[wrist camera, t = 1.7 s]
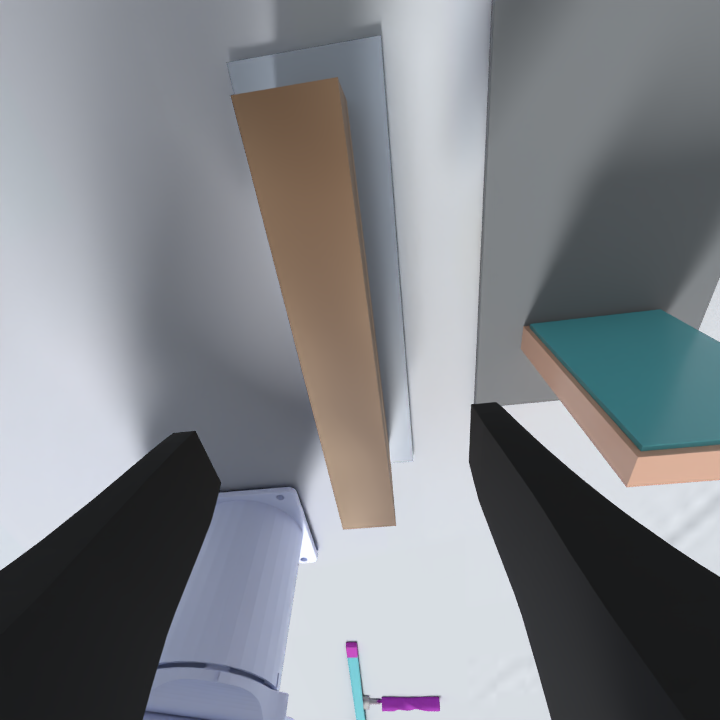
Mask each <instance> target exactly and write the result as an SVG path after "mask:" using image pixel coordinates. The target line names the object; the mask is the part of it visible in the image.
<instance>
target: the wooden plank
mask: <svg viewBox="0 0 720 720" xmlns="http://www.w3.org/2000/svg"><path fill="white" fill-rule="evenodd" d="M231 99H232V103H233V107H234V110H235V114H236V118H237V122H238V126H239V130H240V134H241V137H242V141H243V145H244V149H245V153H246V157H247V161H248V164H249V168H250V172H251V176H252V180H253V184H254V188H255V191H256V195H257V199H258V203H259V207H260V211H261V215H262V218H263V222H264V226H265V230H266V234H267V238H268V242H269V245H270V249H271V253H272V257H273V261H274V265H275V269H276V272H277V276H278V280H279V284H280V288H281V292H282V296H283V299H284V303H285V307H286V311H287V315H288V319H289V323H290V326H291V330H292V334H293V338H294V342H295V346H296V350H297V353H298V357H299V361H300V365H301V369H302V373H303V377H304V380H305V384H306V388H307V392H308V396H309V400H310V404H311V407H312V411H313V415H314V419H315V423H316V427H317V431H318V434H319V438H320V442H321V446H322V450H323V454H324V458H325V461H326V465H327V469H328V473H329V477H330V481H331V485H332V488H333V492H334V496H335V500H336V504H337V508H338V512H339V515H340V519H341V523H342V527H343V529H357V528H371V527H385V526H396V520H395V508H394V497H393V485H392V473H391V461H390V450H389V440H388V432H387V424H386V416H385V408H384V399H383V391H382V383H381V375H380V367H379V359H378V351H377V343H376V334H375V326H374V318H373V310H372V302H371V294H370V286H369V277H368V269H367V261H366V253H365V245H364V237H363V229H362V221H361V212H360V204H359V196H358V188H357V180H356V172H355V164H354V155H353V147H352V139H351V131H350V123H349V115H348V107H347V100H346V97H345V95H344V92H343V90H342V87H341V85H340V82H339V79H338V77H335V78H329V79H323V80H317V81H312V82H306V83H300V84H294V85H288V86H282V87H276V88H270V89H265V90H259V91H253V92H247V93H241V94H235V95H231Z"/></svg>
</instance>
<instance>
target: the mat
mask: <svg viewBox="0 0 720 720" xmlns="http://www.w3.org/2000/svg"><path fill="white" fill-rule="evenodd" d="M719 278H720V0H492V11H491V34H490V56H489V79H488V102H487V124H486V147H485V170H484V192H483V215H482V238H481V260H480V283H479V306H478V328H477V351H476V373H475V396H474V404H480V403H490V402H497V403H498V404H499V405H500V406H504V405H514V404H524V403H535V402H545V401H556V400H559V398H558V397H557V396H556V394H555V393H554V392H553V390H552V389H551V388H550V386H549V385H548V384H547V383H546V381H545V380H544V379H543V377H542V376H541V375H540V373H539V372H538V371H537V370H536V368H535V367H534V366H533V364H532V363H531V362H530V360H529V359H528V358H527V356H526V355H525V354H524V353H523V351H522V350H521V342H522V334H523V326H530V324H534V323H543V322H551V321H560V320H569V319H578V318H587V317H596V316H605V315H614V314H623V313H632V312H640V311H649V310H658V309H661V310H663V311H665V312H666V313H668V314H670V315H672V316H674V317H675V318H677V319H679V320H681V321H682V322H684V323H686V324H688V325H690V326H691V327H693V328H695V329H697V330H699V327H700V325H701V322H702V320H703V317H704V315H705V312H706V310H707V307H708V305H709V303H710V300H711V298H712V295H713V293H714V290H715V288H716V285H717V283H718V280H719Z"/></svg>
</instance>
